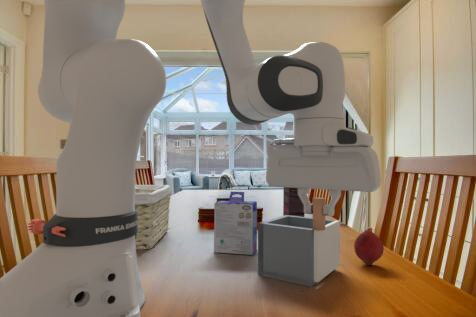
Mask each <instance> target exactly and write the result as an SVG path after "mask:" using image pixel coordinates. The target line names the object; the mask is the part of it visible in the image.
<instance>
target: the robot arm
mask: <svg viewBox="0 0 476 317" xmlns="http://www.w3.org/2000/svg"><path fill="white" fill-rule="evenodd" d="M43 2H44V25H43V26H44V28H43V29H44V30H43V47H42V50H43V51H42V71H41V77H40V79H39V82H38V85H37V88H38V89H37V94H38V100H39V101H40V103H41V106H42V107H43V109H44V110H45V111H46V112H47V113H48V114H49V115H51V116H52V117H53V118H55V119H57V120H61V121H63V122H65V123H70V125H69V129H68V133H67V137H66V140H65V143H64V146H63V149H62V150H61V153H60V154H59V155H58V158H57V162H56V190H55V193H56V195H55V198H56V203H55V204H56V205H55V206H56V207H55V208H56V210H55V212H56V213H55V214H54V215H53V216H51V218H50V219H49V220H48V221H46V220H43V219H40V218H34V219H31V220H30V221H29V223H27V230H28V231H29V232H30V233H32V234H36V235H42V243H40V244H39V245H38V246H37V247H36V248H35V249H34V250H33V251H32V252H30V253H29V254H28V255H27V256H26V257H24V258H23V259H22V260H21V261H20V262H19V263H17V264H16V265H15V266H14V267H12V268H11V269H10V270H9V271H8V272H6V273H5V274H4V275H2V276H1V277H0V317H141V308H142V306H143V305H144V303H145V301H146V296H145V293H144V289H143V285H142V282H141V278H140V272H139V271H140V270H139V265H138V258H137V249H136V243H135V240H136V236H137V232H138V217H137V211H136V210H135V185H136V170H137V168H136V167H137V158H138V152H139V150H140V145H141V142H142V138H143V134H144V131H145V128H146V126H147V123H148V121H149V118H150V116H151V115H152V114H151V113H152V112H153V110H154V109H155V108H156V107H157V105H158V104H159V103H160V102H161V100H162V99H163V97H164V95H165V92H166V88H167V75H166V70H165V66H164V64H163V62H162V60H161V58H160V57H159V55H158V54H157V53H156V51H155V50H154V49H153V48H152V47H151V46H150V45H148V44H147V43H146V42H143V41H141V40H139V39H134V38H117V35H118V32H119V28H120V25H121V22H122V21H123V20H124V19H123V18H124V16H125V12H126V1H125V0H43ZM245 2H246V0H200V4H201V6H202V7H201V8H202V9H203V12H204V16H205V20H206V23H207V27H208V30H209V33H210V35H211V38H212V42H213V44H214V47H215V51H216V53H217V56H218V59H219V61H220V64H221V68H222V71H223V74H224V77H225V84H226V85H225V86H226V102H227V106H228V109H229V110H230V112H231V114H232V115H233V117H235V119H237V120H238V121H240V122H241V123H243V124H245V125H250V126H256V125H260V124H263V123H265V122H267V121H269V120H273V119H276V118H279V117H281V116H285V115H288V114H291V115H293V138H291V137H290V138H285V139H284V138H283V139H282V138H276V139H274V141H272V142H270V143H269V145H268V146H267V158H268V159H267V164H266V174H265V175H266V176H265V181H266V183H267V185H268V186H269V187H272V188H284V187H287V188H298V196H299V197H300V199H301V201H302V203H303V204H304V214H305V215H306V214H307V215H313V202H312V203H311V201H310V199H309V196H308V195H309V194H310V190H326V191H328V196H329V197H331V198H330V201H329V203H328V204H325V205H324V206H323V210H324V211H323V215H324V216H325V217H333V216H335V206H336V205H337V203H338V202H339V199H340V198H341V196H342V191H343V192H344V191H346V192H362V193H363V192H365V193H373V192H376V191H377V190H378V189H379V188H380V187H381V183H382V181H381V167H380V161H379V156H378V154H377V151H375V150H374V149H373V148H372V146H373V144H374V136H373V135H372V134H370V133H368V132H365V131H361V130H357V129H356V128H354V127H346V117H345V114H344V106H343V105H344V100H345V97H346V78H345V76H346V75H345V65H344V62H343V61H344V60H343V58H342V55H341V52H340V50H339V49H338V47H336V46H335V45H332V44H330V43H327V42H323V41H322V42H321V41H313V42H311V41H310V42H307V43H304V44H302V45H301V46H300V47H299V48H297V49H295V50H294V51H292V52H289V53H287V54H286V53H285V54H278V55H274V56H272V57H269V58H266V59H265V60H264V61H261V62H260V63H259V64H257V63H256V61H255V57H254V55H253V51H252V48H251V46H250V42H249V39H248V36H247V33H246V29H245V26H244V25H245V24H244V8H245V7H244V6H245Z"/></svg>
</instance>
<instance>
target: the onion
mask: <svg viewBox="0 0 476 317" xmlns="http://www.w3.org/2000/svg"><path fill="white" fill-rule="evenodd" d="M353 248H354V253H355V255H356V256H357V258H358V259H360V261H361V262H362V263H364V264H366V265H367V266H371V265H373V264H374V263H376V262H377V261H378V260H379V259H381V257H382V256H383V255H384V250H385V248H384V243H383V241H382V240H381V238H380V237H379V236H378V235H377V234H375V232H373V228H372V227H367V228H366V229H365V230H364V231H363V232H361V233H360V234H359V235H358V236H357V237H356V238H355V240H354V245H353Z"/></svg>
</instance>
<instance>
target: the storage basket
mask: <svg viewBox="0 0 476 317" xmlns="http://www.w3.org/2000/svg"><path fill="white" fill-rule="evenodd" d="M171 190H172V189H171V186H170V185H169V184H135V210H136V211H137V217H138V232H137V236H136V240H135V243H136V250H139V251H142V250H150V249H152V248H153V247H155V245H157V243H158V242H159V241H160V240H161V238H162V237H163V236H165V234H166V233H167V232H168V230H169V229H170V228H169V221H170V220H169V219H170V215H169V214H170V203H171V201H170V200H171V193H172V192H171Z"/></svg>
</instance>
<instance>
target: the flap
mask: <svg viewBox="0 0 476 317" xmlns="http://www.w3.org/2000/svg"><path fill="white" fill-rule="evenodd" d="M312 203H313V214H312V218H313V230H314V282H317V283H320V282H321V281H322V280H323V279H324V278H326V277H327V276H328V275H329V274H331V273H332V272H333V271H334V270H336V269H337V268H338V267H340V264H341V254H340V253H341V221H340V220H334V222H331V223H329V224H327V225H325V219H326V216H324V215H323V211H324V210H323V206H324V205H326V198H325V197H312Z"/></svg>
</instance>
